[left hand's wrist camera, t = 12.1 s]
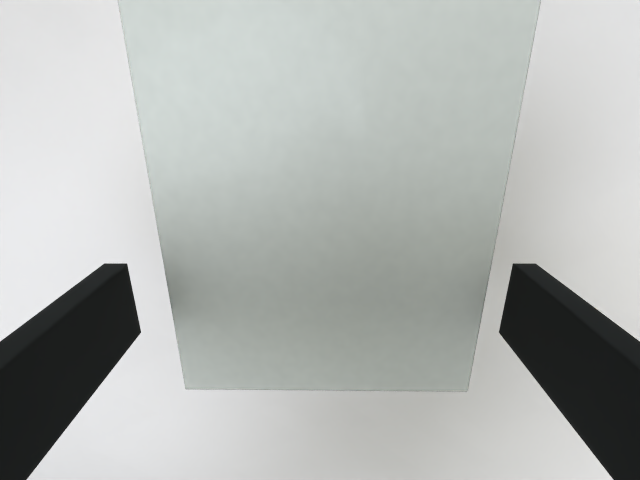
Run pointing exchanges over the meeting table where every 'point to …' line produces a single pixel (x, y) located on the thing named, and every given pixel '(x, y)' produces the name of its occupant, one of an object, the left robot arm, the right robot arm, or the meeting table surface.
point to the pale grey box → (328, 182)
